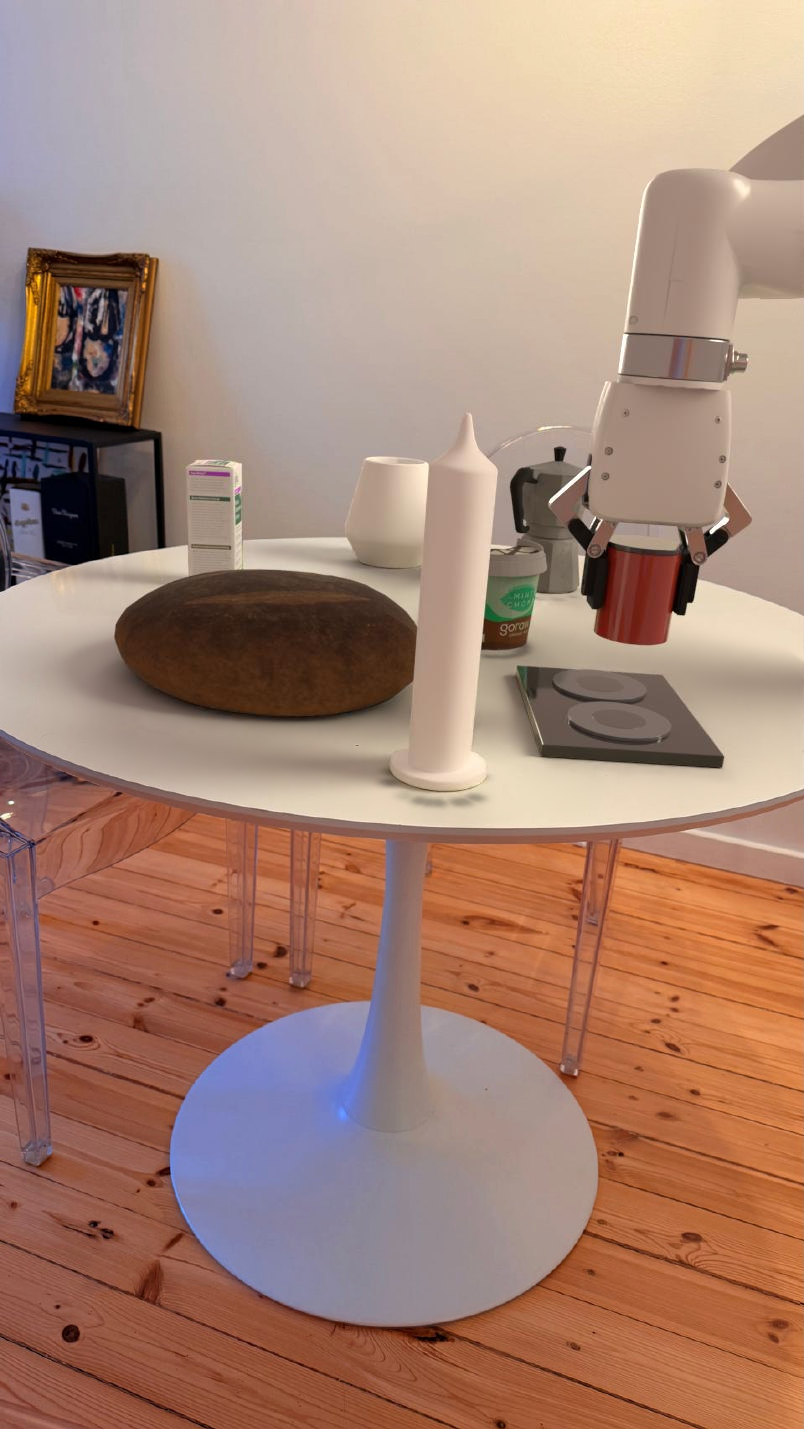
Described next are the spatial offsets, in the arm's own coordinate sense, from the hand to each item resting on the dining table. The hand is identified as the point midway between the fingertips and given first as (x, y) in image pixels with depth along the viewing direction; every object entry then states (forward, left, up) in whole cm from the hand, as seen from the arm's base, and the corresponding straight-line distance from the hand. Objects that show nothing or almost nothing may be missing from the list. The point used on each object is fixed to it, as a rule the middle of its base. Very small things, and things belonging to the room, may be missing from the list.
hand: (634, 606), depth 78 cm
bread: (+30, -11, -11) cm, 34 cm away
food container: (+7, -25, -11) cm, 28 cm away
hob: (0, -4, -11) cm, 11 cm away
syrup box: (+41, -43, -11) cm, 60 cm away
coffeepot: (0, -53, -11) cm, 54 cm away
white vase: (+20, -63, -11) cm, 67 cm away
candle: (+15, +10, -11) cm, 21 cm away
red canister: (0, 0, -2) cm, 2 cm away
